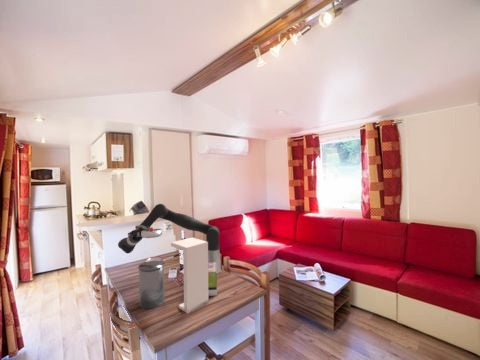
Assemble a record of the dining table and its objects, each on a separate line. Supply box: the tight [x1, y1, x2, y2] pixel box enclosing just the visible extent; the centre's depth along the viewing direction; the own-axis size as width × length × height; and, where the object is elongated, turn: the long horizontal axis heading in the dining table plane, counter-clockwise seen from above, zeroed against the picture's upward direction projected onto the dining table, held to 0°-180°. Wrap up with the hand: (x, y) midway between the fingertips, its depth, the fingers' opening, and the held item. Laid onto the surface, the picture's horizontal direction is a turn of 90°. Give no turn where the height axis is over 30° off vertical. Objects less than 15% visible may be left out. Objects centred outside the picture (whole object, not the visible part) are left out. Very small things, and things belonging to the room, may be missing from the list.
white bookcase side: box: [170, 237, 210, 314], centre depth 126 cm, size 15×14×34 cm
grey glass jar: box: [137, 261, 165, 310], centre depth 127 cm, size 14×14×21 cm
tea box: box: [208, 262, 218, 297], centre depth 141 cm, size 15×10×15 cm, turn 5°
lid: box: [135, 224, 163, 239], centre depth 132 cm, size 24×11×4 cm, turn 47°
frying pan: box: [144, 253, 180, 263], centre depth 188 cm, size 32×13×6 cm, turn 127°
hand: (145, 227), depth 133 cm, fingers closed on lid, 3 cm apart
